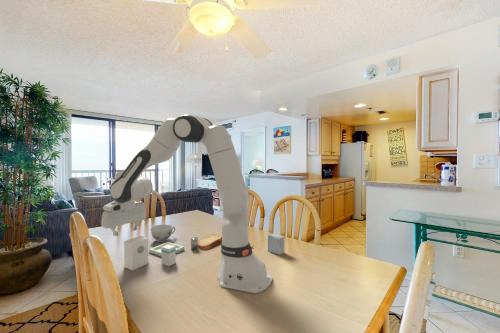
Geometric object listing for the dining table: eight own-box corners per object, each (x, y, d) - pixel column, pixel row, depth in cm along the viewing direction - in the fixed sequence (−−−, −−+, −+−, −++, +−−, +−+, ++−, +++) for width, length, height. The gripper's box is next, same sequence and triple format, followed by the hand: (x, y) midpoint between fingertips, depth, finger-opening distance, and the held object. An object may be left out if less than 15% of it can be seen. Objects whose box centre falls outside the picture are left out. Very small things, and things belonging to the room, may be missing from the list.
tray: (184, 250, 126) (184, 246, 126) (166, 258, 115) (166, 254, 115) (167, 245, 132) (167, 242, 132) (149, 252, 122) (149, 249, 122)
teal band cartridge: (175, 262, 110) (175, 246, 110) (168, 266, 107) (168, 249, 107) (168, 260, 113) (168, 244, 113) (161, 263, 110) (161, 246, 109)
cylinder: (199, 248, 128) (199, 237, 128) (194, 250, 125) (194, 239, 125) (194, 247, 130) (194, 236, 130) (189, 249, 127) (189, 238, 126)
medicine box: (284, 252, 122) (284, 236, 122) (279, 255, 119) (279, 238, 118) (272, 249, 127) (272, 233, 127) (267, 251, 124) (267, 235, 124)
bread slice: (200, 251, 125) (199, 244, 124) (193, 240, 141) (193, 234, 141) (231, 246, 132) (231, 240, 132) (222, 236, 148) (222, 230, 148)
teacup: (156, 245, 132) (156, 231, 131) (147, 240, 140) (147, 227, 140) (180, 239, 143) (180, 226, 142) (170, 234, 151) (170, 222, 151)
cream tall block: (149, 263, 109) (148, 238, 109) (133, 270, 103) (132, 243, 102) (140, 260, 113) (139, 235, 113) (123, 266, 106) (123, 240, 106)
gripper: (141, 200, 121) (141, 226, 122) (99, 207, 104) (99, 237, 104) (148, 201, 118) (149, 228, 119) (106, 208, 101) (107, 240, 101)
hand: (125, 232), depth 111 cm, fingers open, 8 cm apart
